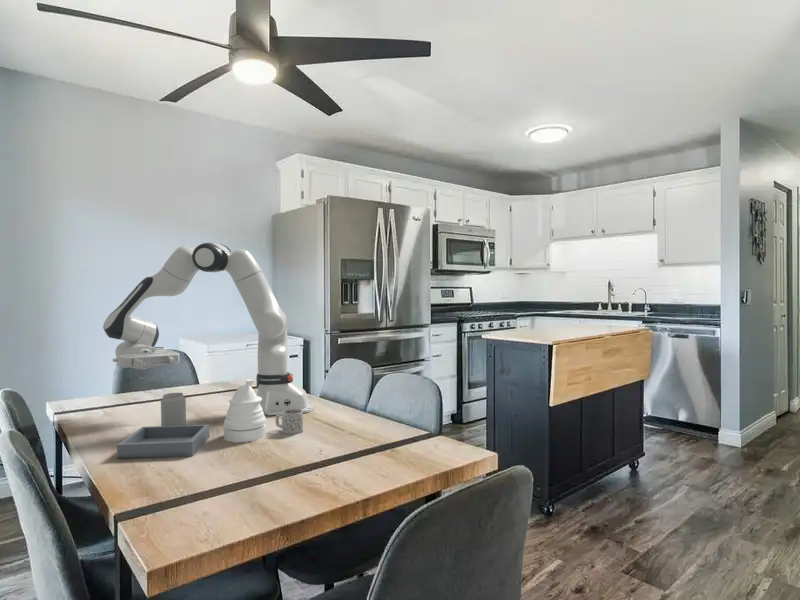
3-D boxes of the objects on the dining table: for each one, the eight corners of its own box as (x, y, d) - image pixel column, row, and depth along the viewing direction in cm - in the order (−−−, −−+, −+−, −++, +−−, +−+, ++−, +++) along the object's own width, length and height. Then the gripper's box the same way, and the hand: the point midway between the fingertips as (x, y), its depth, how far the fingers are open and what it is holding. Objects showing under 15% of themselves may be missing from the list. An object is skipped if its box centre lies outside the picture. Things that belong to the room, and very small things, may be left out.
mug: (306, 430, 168) (306, 410, 168) (294, 435, 162) (294, 414, 162) (282, 426, 172) (282, 407, 172) (269, 432, 166) (269, 411, 166)
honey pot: (274, 432, 166) (273, 377, 165) (250, 444, 154) (249, 384, 153) (240, 428, 170) (240, 375, 169) (215, 440, 158) (214, 382, 157)
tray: (209, 437, 161) (209, 424, 160) (192, 456, 143) (192, 442, 143) (143, 439, 158) (142, 426, 158) (117, 459, 141) (117, 444, 140)
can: (176, 433, 165) (176, 396, 164) (156, 432, 166) (155, 396, 166) (190, 427, 172) (190, 392, 172) (171, 426, 173) (170, 391, 173)
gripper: (110, 350, 177) (126, 355, 168) (169, 347, 193) (186, 351, 184) (110, 368, 178) (125, 374, 168) (168, 363, 193) (186, 369, 184)
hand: (158, 362), depth 176 cm, fingers open, 8 cm apart
